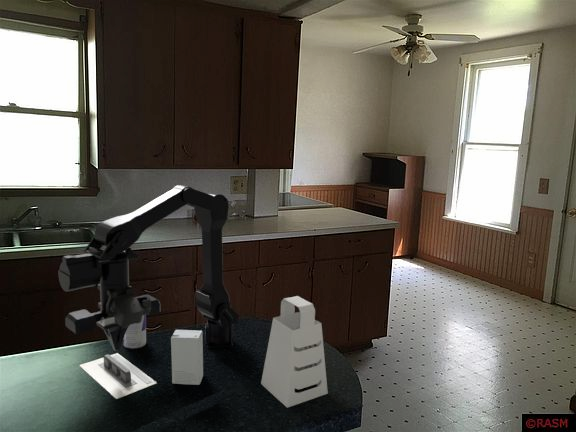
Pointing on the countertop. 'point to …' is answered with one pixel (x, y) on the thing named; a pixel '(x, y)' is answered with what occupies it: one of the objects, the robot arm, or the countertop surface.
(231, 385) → the countertop surface
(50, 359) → the countertop surface
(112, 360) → the breaker paddles
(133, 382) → the breaker panel
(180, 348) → the skincare box
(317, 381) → the grater
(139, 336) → the energy drink
